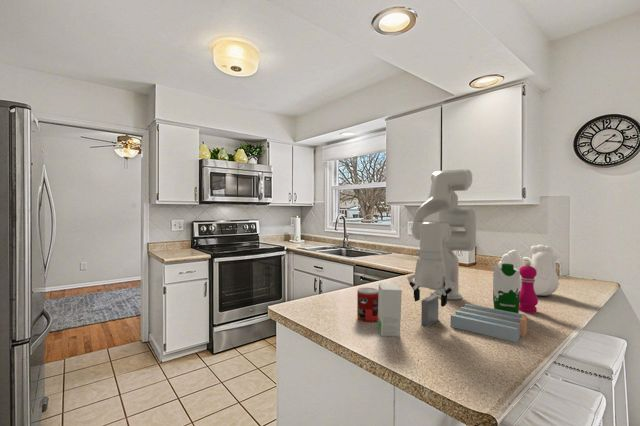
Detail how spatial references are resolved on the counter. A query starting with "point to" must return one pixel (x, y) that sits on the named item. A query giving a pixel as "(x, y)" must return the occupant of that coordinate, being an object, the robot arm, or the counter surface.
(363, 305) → the canned food
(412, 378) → the counter surface
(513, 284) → the milk carton
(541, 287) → the decorative rooster
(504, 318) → the rack
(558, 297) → the counter surface
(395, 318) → the skincare box
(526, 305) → the pepper mill
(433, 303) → the panel
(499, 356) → the counter surface
